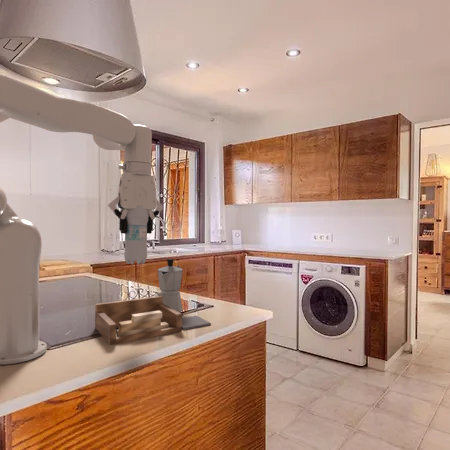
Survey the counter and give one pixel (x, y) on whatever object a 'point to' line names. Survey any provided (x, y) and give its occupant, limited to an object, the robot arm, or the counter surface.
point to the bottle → (136, 235)
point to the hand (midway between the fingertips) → (136, 232)
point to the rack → (123, 310)
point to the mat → (193, 322)
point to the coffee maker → (170, 285)
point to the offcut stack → (142, 323)
